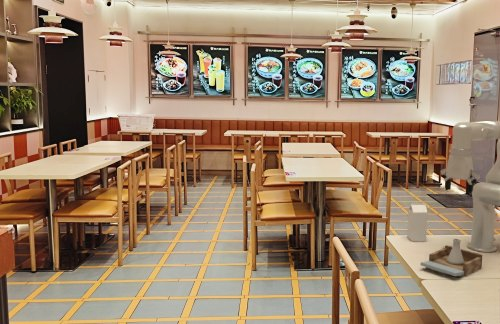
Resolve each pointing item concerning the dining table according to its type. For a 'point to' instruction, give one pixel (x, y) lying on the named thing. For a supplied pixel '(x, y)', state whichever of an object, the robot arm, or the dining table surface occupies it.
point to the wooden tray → (470, 265)
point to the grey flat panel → (442, 268)
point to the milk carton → (417, 222)
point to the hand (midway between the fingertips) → (458, 191)
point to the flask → (455, 254)
